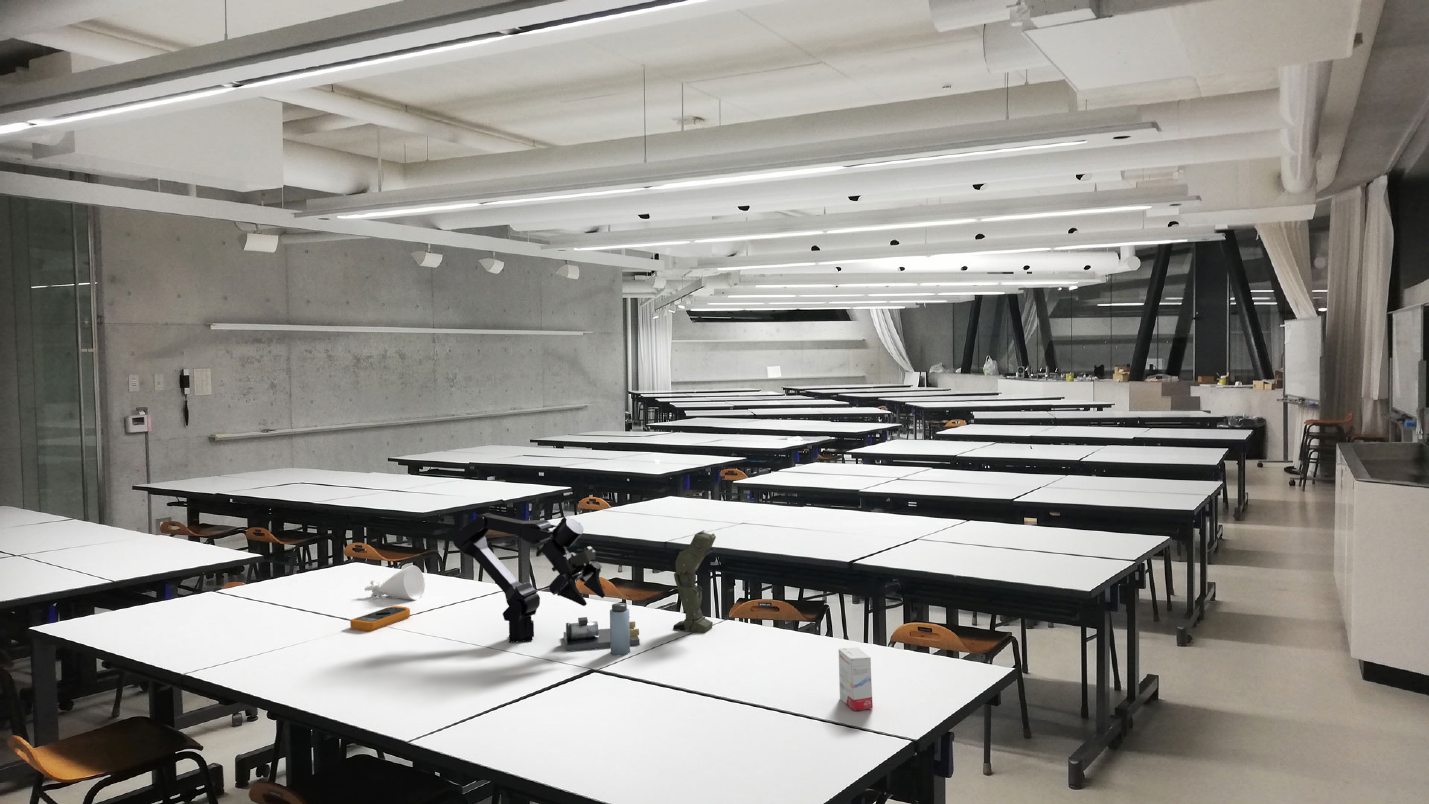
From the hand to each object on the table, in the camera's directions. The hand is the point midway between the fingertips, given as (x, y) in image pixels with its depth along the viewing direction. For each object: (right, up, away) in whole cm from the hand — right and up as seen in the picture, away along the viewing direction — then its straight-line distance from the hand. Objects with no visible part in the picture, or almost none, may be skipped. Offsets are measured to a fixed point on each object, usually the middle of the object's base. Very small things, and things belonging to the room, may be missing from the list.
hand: (594, 600), depth 254 cm
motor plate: (+1, -13, +8) cm, 15 cm away
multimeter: (-69, -14, +30) cm, 77 cm away
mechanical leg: (+27, -12, +18) cm, 35 cm away
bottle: (+7, -13, -3) cm, 15 cm away
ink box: (+65, -14, -43) cm, 79 cm away
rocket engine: (-75, -12, +62) cm, 99 cm away
